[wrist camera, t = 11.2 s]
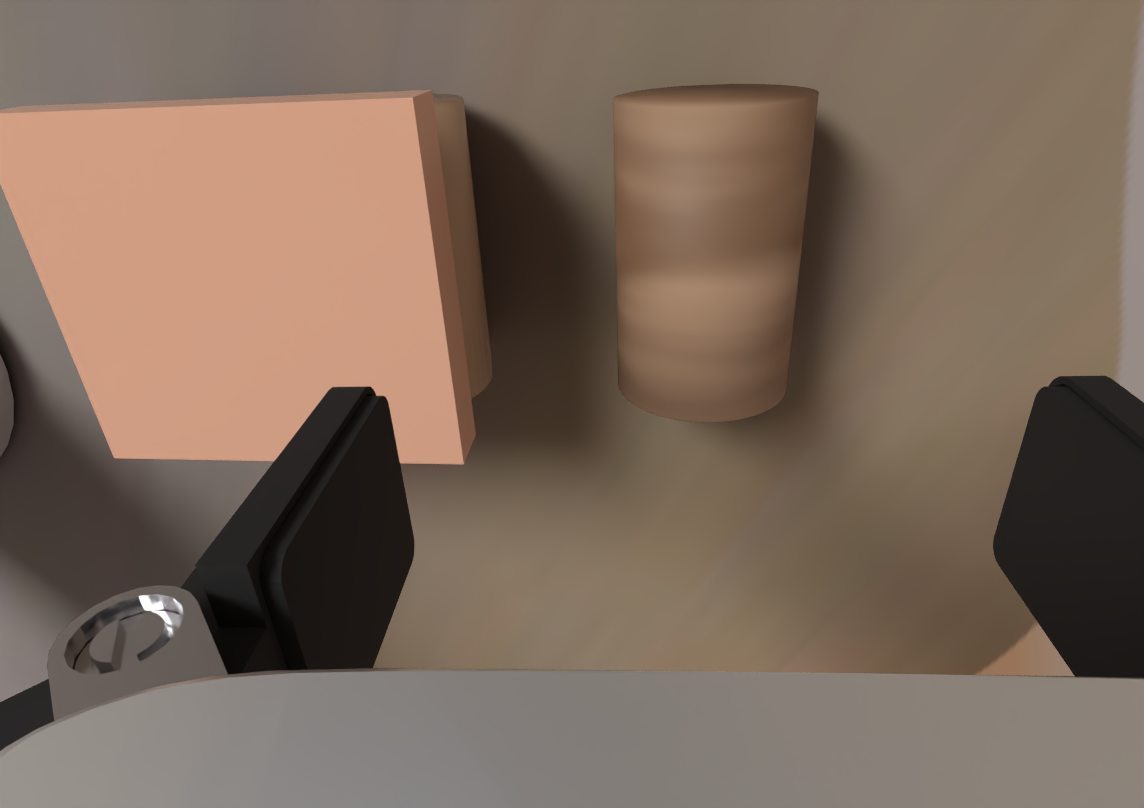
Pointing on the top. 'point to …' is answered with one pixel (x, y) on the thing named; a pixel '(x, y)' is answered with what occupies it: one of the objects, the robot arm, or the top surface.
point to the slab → (257, 264)
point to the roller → (709, 244)
